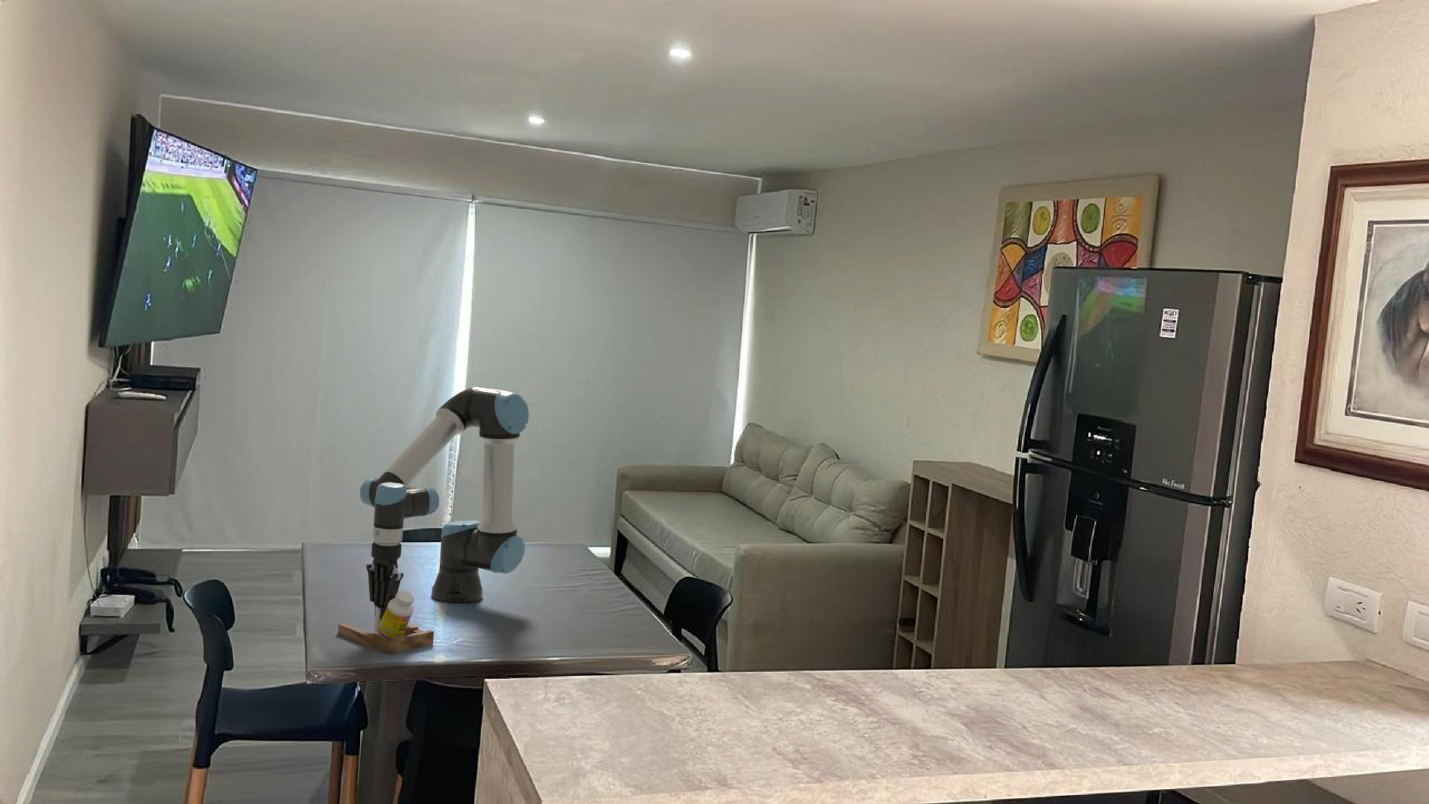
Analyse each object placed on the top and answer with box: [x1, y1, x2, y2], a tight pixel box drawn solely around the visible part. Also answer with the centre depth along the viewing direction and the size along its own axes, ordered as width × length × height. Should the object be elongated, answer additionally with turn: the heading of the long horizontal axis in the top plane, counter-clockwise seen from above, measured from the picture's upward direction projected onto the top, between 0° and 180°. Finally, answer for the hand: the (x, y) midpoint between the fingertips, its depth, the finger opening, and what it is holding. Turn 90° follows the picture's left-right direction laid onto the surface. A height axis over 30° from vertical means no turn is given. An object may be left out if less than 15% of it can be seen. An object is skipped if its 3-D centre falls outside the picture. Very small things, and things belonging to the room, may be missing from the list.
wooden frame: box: [337, 622, 435, 655], centre depth 298 cm, size 14×22×4 cm, turn 53°
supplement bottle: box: [376, 590, 415, 639], centre depth 295 cm, size 7×7×13 cm
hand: (379, 630), depth 299 cm, fingers closed
